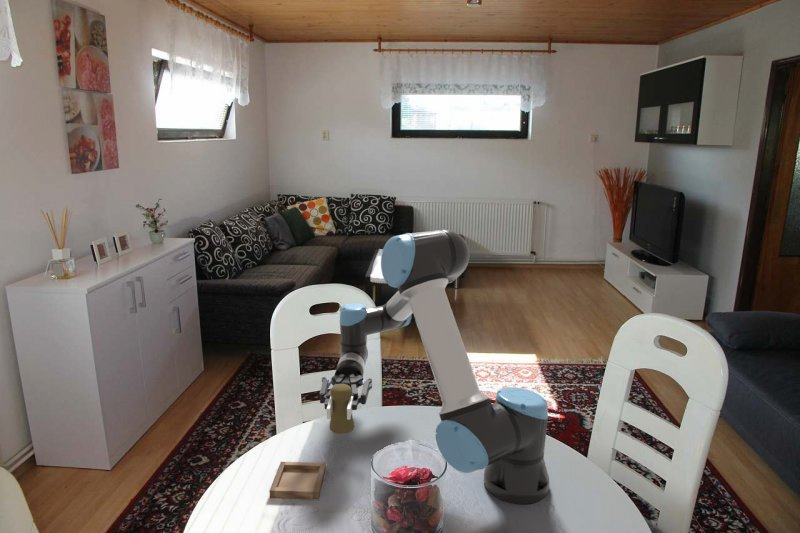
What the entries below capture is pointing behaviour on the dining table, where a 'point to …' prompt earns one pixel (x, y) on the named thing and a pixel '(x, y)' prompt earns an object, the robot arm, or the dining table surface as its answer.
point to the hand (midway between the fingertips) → (338, 413)
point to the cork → (341, 409)
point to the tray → (298, 480)
